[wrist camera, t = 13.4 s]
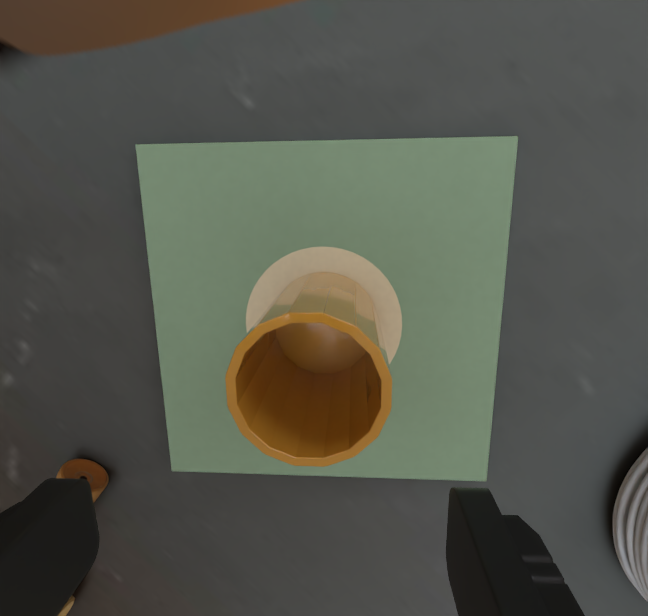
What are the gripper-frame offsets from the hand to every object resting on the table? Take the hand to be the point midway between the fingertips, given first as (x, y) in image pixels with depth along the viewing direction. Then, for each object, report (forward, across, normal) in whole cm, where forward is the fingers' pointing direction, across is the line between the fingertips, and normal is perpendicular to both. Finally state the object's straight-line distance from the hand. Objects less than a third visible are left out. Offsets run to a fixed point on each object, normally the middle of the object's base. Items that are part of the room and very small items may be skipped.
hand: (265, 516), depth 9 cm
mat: (+16, 0, 0) cm, 16 cm away
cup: (+16, 0, 0) cm, 16 cm away
